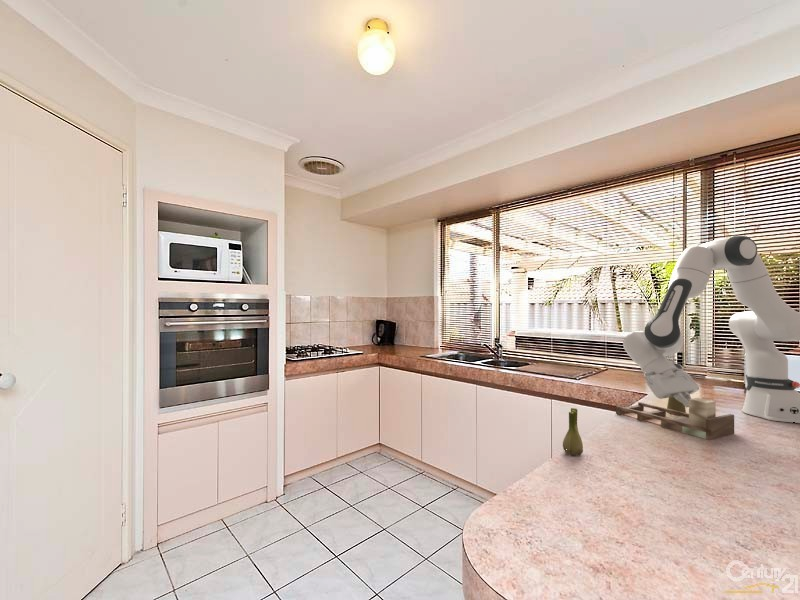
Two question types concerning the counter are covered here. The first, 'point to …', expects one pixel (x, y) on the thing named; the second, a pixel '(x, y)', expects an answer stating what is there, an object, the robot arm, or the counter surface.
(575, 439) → the fennel bulb
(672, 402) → the cork
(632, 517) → the counter surface
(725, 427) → the trap box
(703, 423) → the birch block
